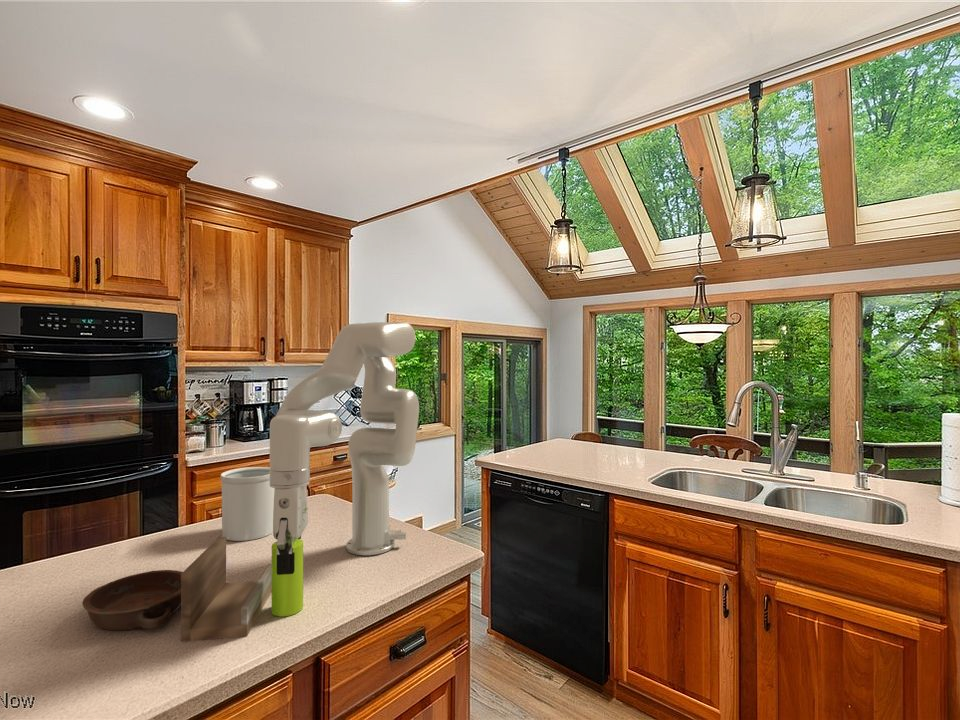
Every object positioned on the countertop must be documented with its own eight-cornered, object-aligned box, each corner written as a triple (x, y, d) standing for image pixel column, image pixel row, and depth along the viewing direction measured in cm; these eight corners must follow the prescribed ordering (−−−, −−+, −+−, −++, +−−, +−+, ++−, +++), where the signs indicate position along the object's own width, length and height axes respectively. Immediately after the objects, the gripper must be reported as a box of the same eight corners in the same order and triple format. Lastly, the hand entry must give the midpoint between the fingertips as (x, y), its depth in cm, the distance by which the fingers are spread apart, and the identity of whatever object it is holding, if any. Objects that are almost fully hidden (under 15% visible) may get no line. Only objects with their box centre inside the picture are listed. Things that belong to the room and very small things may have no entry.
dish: (162, 581, 110) (162, 559, 110) (213, 611, 97) (213, 586, 97) (64, 615, 95) (64, 590, 95) (108, 655, 83) (108, 626, 83)
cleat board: (272, 589, 106) (272, 534, 106) (246, 636, 88) (246, 570, 88) (218, 592, 104) (218, 537, 104) (181, 641, 86) (181, 574, 86)
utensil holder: (241, 522, 148) (241, 465, 148) (287, 525, 146) (287, 466, 146) (208, 540, 134) (208, 477, 134) (258, 543, 132) (258, 479, 132)
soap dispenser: (313, 606, 98) (313, 507, 99) (279, 619, 93) (279, 515, 94) (299, 597, 102) (299, 502, 103) (266, 609, 97) (266, 509, 98)
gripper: (300, 487, 90) (300, 584, 90) (316, 466, 107) (316, 548, 107) (257, 488, 89) (257, 587, 89) (280, 467, 106) (280, 550, 106)
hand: (289, 565), depth 98 cm, fingers closed on soap dispenser, 5 cm apart
